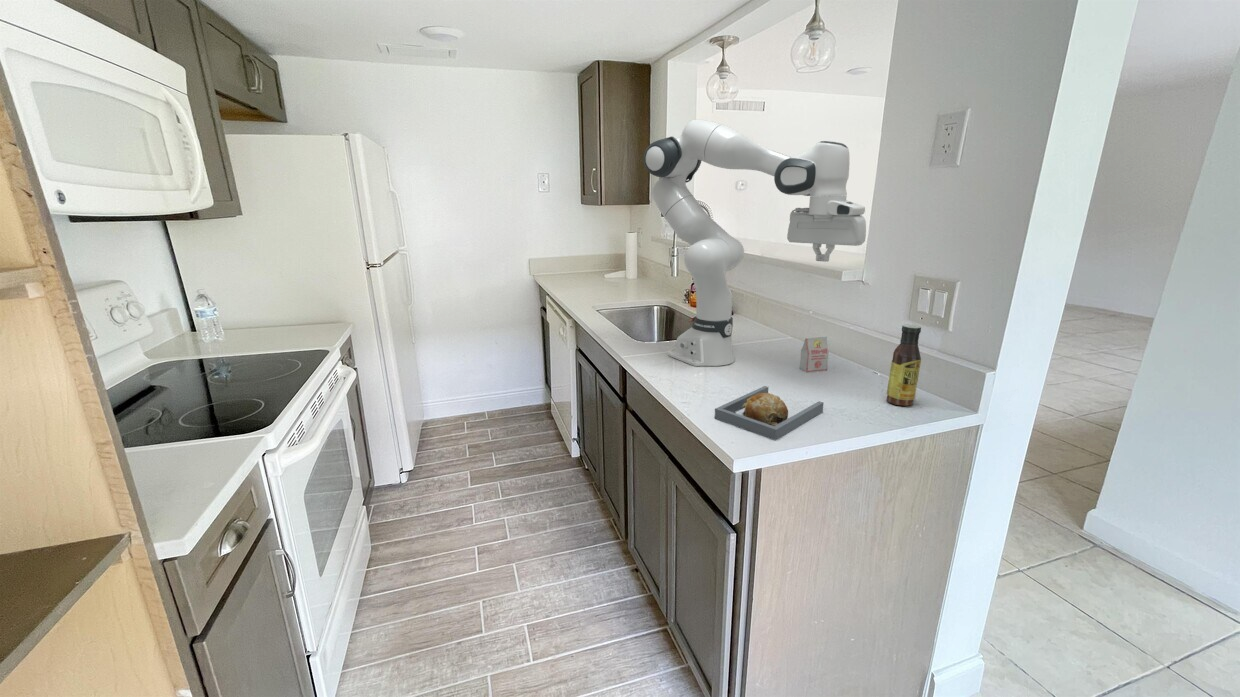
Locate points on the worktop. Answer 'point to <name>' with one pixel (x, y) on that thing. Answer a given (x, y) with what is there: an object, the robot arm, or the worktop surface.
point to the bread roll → (766, 409)
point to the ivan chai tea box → (814, 354)
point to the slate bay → (761, 428)
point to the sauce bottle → (905, 368)
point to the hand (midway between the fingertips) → (822, 261)
